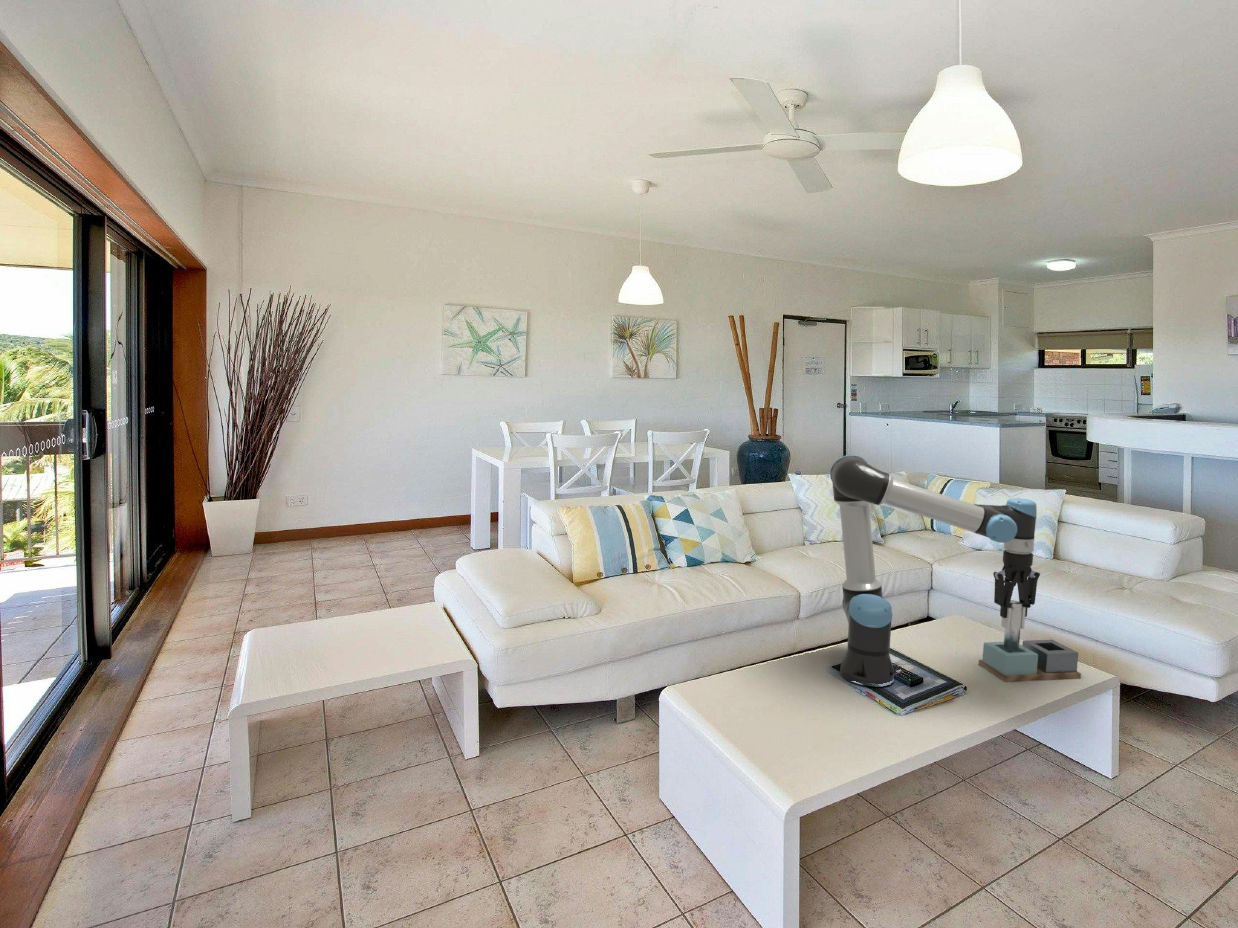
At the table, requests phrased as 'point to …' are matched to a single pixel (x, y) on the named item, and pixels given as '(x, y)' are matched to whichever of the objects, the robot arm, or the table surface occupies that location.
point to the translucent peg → (1013, 626)
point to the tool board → (1030, 675)
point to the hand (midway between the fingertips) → (1012, 627)
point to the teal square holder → (1010, 659)
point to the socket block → (1053, 656)
